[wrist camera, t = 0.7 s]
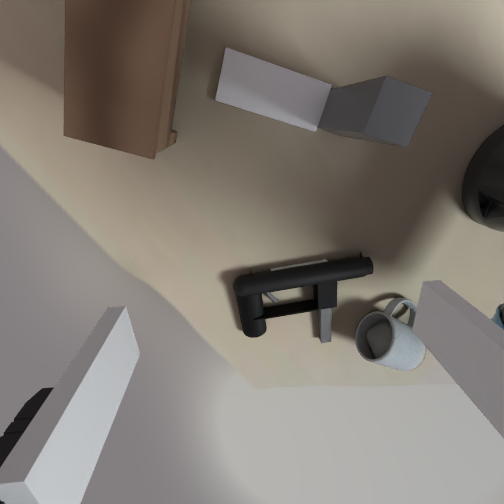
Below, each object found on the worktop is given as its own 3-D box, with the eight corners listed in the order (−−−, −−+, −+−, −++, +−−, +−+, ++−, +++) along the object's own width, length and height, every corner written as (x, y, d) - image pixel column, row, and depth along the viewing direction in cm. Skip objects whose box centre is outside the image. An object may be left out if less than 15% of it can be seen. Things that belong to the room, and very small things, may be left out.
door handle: (367, 339, 47) (376, 254, 39) (247, 359, 46) (230, 278, 39) (359, 324, 50) (365, 243, 42) (245, 344, 49) (229, 265, 41)
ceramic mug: (384, 350, 51) (410, 386, 44) (347, 335, 49) (369, 371, 42) (423, 304, 48) (458, 335, 41) (386, 286, 45) (416, 316, 38)
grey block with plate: (360, 96, 33) (435, 85, 21) (343, 141, 35) (404, 153, 23) (225, 48, 30) (227, 5, 18) (215, 100, 32) (210, 91, 20)
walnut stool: (205, -33, 27) (193, -140, 16) (176, 144, 34) (153, 159, 22) (135, -61, 26) (67, -199, 15) (119, 128, 32) (63, 135, 21)
